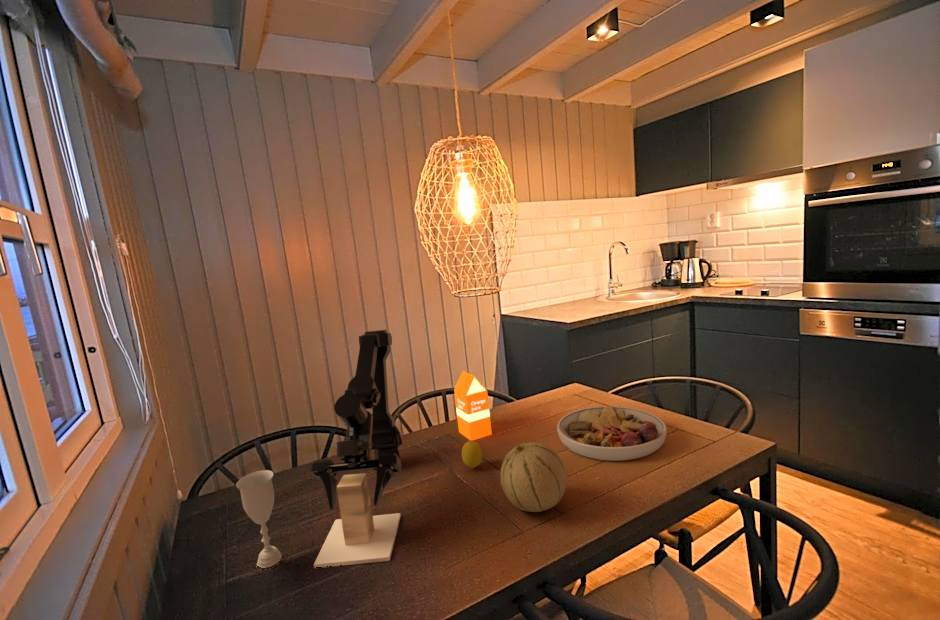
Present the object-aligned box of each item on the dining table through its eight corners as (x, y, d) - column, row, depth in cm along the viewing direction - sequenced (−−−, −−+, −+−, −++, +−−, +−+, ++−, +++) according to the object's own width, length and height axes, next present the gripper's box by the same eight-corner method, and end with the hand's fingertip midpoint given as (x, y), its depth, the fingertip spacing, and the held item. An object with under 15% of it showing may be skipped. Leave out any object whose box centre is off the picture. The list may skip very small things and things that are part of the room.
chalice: (259, 551, 97) (245, 472, 94) (291, 546, 97) (278, 468, 95) (245, 576, 90) (229, 491, 87) (280, 570, 90) (265, 486, 88)
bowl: (537, 446, 134) (535, 420, 133) (596, 414, 153) (594, 391, 152) (630, 478, 111) (629, 448, 110) (686, 436, 130) (685, 410, 129)
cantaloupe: (583, 510, 99) (578, 446, 97) (526, 535, 93) (520, 466, 91) (543, 482, 112) (538, 425, 110) (491, 502, 106) (485, 441, 104)
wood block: (351, 530, 99) (343, 475, 98) (374, 528, 99) (366, 472, 98) (345, 545, 95) (336, 487, 93) (369, 543, 94) (360, 485, 93)
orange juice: (479, 425, 152) (473, 368, 150) (492, 434, 144) (486, 373, 142) (458, 432, 149) (451, 373, 146) (470, 441, 141) (463, 379, 138)
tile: (336, 522, 105) (335, 519, 104) (400, 516, 104) (400, 513, 104) (314, 568, 90) (313, 564, 90) (389, 560, 90) (389, 557, 89)
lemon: (481, 473, 120) (478, 444, 119) (461, 473, 121) (458, 445, 120) (485, 463, 126) (482, 435, 125) (465, 463, 127) (462, 436, 126)
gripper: (306, 425, 98) (294, 502, 88) (392, 417, 97) (390, 492, 88) (323, 444, 106) (314, 515, 97) (402, 436, 106) (401, 507, 97)
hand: (353, 507), depth 95 cm, fingers open, 9 cm apart
